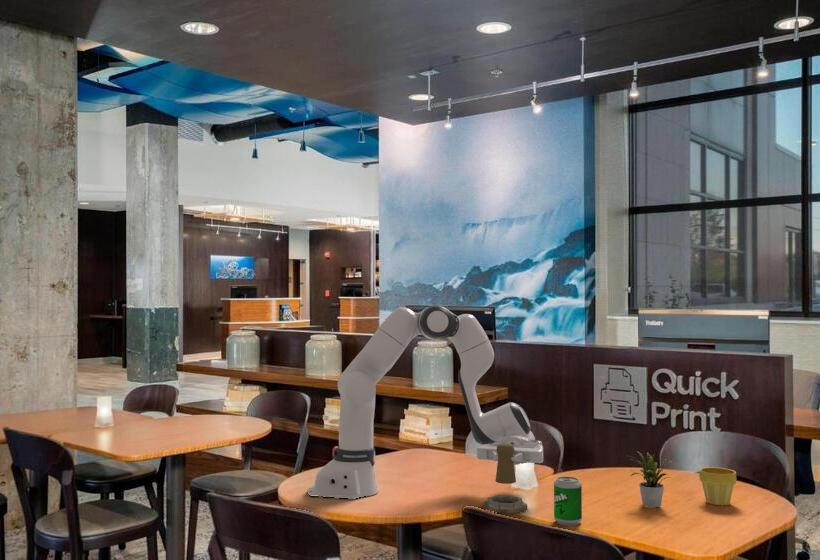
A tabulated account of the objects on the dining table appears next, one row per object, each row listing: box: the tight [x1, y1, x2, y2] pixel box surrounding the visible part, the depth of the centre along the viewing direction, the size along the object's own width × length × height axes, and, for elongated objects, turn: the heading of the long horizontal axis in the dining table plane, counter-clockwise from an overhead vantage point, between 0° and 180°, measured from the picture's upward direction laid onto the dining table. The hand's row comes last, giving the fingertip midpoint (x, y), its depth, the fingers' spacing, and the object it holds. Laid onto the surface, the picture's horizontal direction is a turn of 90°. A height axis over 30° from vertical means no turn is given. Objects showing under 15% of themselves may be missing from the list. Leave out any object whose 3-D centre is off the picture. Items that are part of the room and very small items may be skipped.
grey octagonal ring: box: [482, 494, 528, 515], centre depth 225 cm, size 13×13×2 cm
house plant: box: [625, 451, 674, 508], centre depth 229 cm, size 14×14×16 cm
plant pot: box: [698, 466, 737, 507], centre depth 231 cm, size 10×10×10 cm
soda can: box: [553, 476, 583, 527], centre depth 211 cm, size 8×8×12 cm
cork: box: [495, 443, 517, 485], centre depth 225 cm, size 6×6×11 cm
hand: (504, 458), depth 225 cm, fingers closed on cork, 4 cm apart
